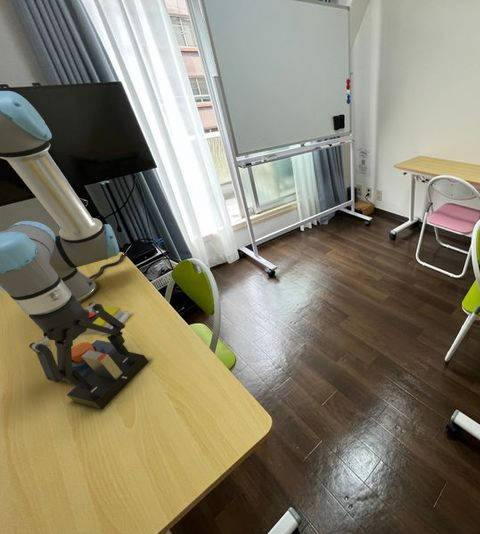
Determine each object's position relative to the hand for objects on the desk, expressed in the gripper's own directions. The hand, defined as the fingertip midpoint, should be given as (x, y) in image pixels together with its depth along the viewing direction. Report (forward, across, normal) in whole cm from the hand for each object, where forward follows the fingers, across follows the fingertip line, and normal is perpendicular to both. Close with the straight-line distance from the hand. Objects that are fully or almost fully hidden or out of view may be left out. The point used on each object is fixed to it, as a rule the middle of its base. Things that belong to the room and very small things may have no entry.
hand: (107, 370), depth 74 cm
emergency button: (+5, +16, +25) cm, 30 cm away
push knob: (+1, +3, +12) cm, 12 cm away
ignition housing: (+5, +3, +12) cm, 13 cm away
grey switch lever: (+2, 0, 0) cm, 2 cm away
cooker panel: (+5, 0, +1) cm, 5 cm away
